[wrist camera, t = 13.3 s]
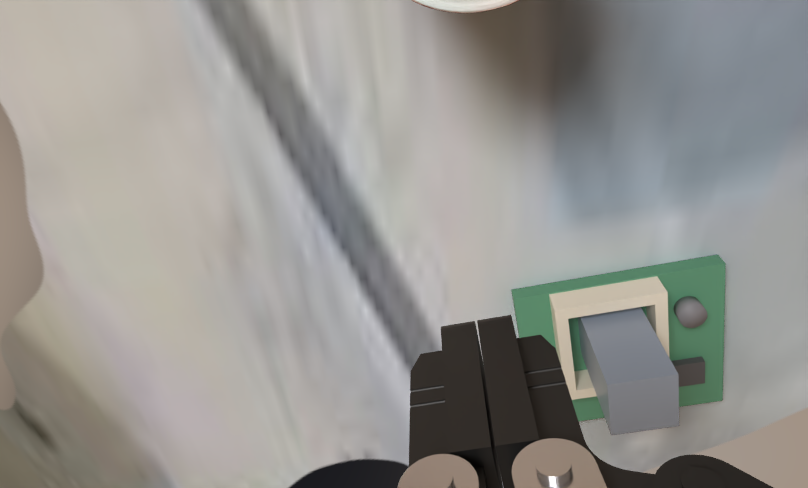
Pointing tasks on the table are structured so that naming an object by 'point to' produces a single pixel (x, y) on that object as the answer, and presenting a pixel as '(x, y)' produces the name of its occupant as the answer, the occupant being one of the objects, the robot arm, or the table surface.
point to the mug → (464, 5)
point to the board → (665, 310)
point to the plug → (629, 371)
